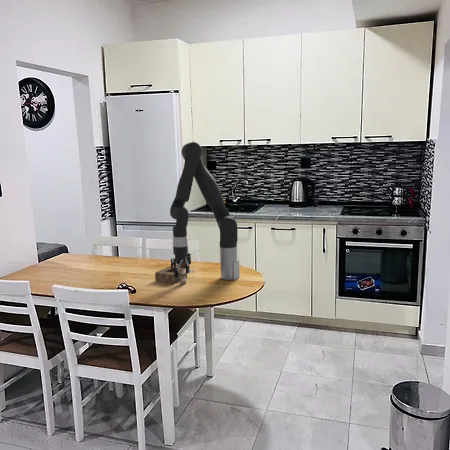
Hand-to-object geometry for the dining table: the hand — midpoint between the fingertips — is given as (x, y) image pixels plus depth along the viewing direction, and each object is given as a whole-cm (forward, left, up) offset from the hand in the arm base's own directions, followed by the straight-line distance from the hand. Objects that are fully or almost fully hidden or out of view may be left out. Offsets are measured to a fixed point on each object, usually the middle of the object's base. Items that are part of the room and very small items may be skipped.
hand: (181, 275), depth 222 cm
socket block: (+9, -3, -5) cm, 11 cm away
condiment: (+11, -19, -5) cm, 23 cm away
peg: (-1, 0, -5) cm, 5 cm away
